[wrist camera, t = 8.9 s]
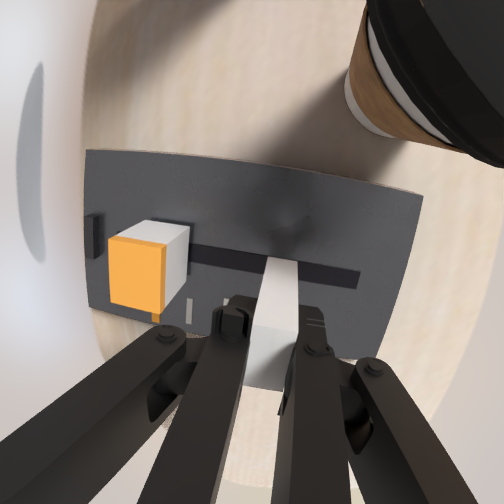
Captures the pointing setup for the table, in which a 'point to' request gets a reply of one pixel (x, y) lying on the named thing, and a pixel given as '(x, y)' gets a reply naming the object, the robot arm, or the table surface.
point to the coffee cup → (432, 74)
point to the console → (256, 237)
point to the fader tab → (148, 265)
